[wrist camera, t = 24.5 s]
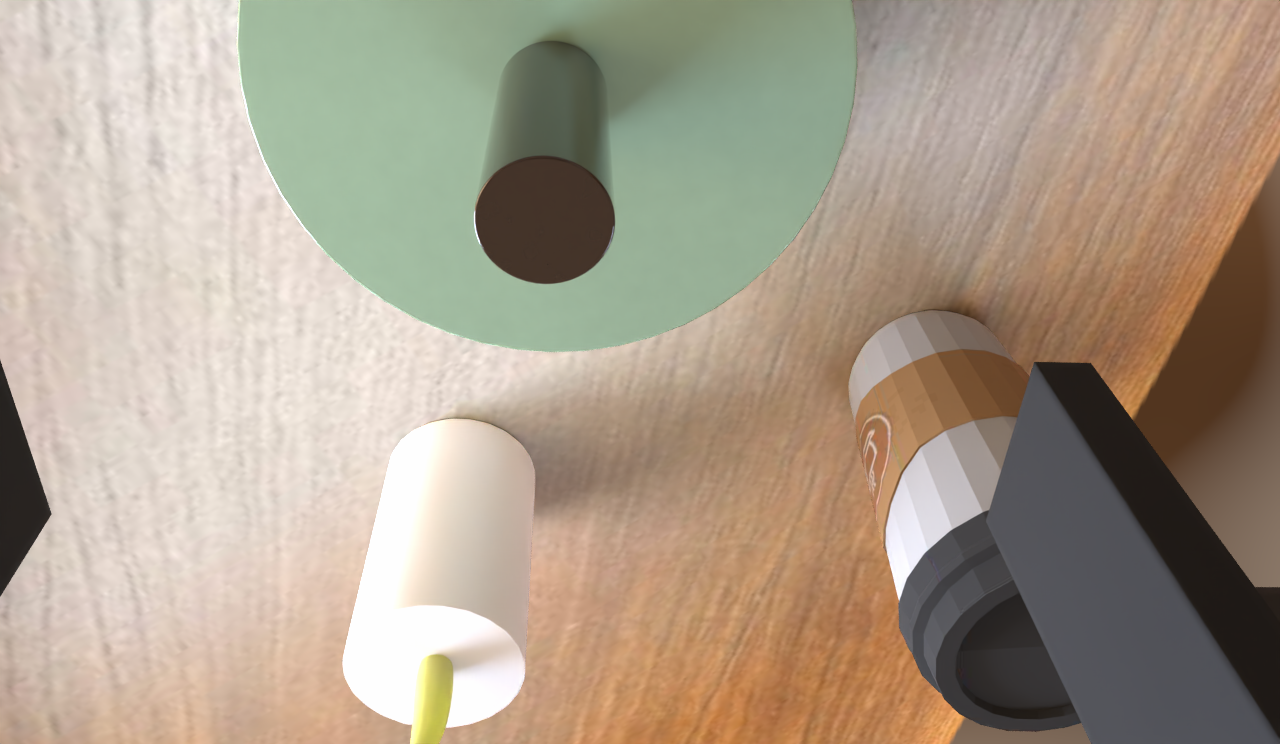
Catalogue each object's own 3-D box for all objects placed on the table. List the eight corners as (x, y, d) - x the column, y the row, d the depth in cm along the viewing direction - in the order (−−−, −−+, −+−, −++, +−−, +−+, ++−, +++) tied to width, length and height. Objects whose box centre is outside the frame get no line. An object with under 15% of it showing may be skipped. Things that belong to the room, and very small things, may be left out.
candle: (403, 541, 48) (341, 852, 35) (374, 424, 44) (293, 725, 32) (544, 529, 48) (531, 837, 35) (526, 412, 44) (505, 708, 32)
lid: (199, -284, 22) (25, -262, 15) (897, -245, 23) (1032, -207, 16) (291, 325, 30) (206, 520, 23) (804, 335, 31) (868, 525, 24)
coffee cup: (828, 286, 41) (935, 555, 29) (1040, 277, 42) (1237, 539, 29) (814, 455, 46) (901, 749, 34) (1005, 446, 46) (1162, 735, 34)
